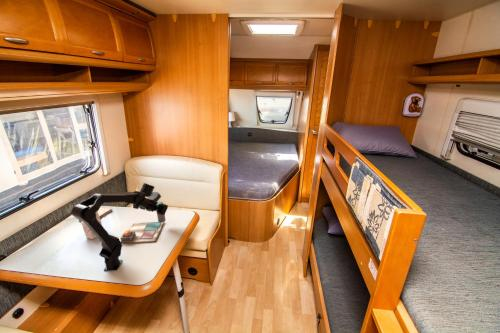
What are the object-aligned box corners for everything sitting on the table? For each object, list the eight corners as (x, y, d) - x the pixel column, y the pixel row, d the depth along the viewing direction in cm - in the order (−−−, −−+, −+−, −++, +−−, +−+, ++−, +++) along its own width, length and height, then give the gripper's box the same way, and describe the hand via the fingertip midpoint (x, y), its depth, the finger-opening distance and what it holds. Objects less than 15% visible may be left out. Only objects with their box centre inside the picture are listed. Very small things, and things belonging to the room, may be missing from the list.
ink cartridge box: (97, 230, 145) (91, 210, 140) (103, 230, 144) (98, 211, 139) (85, 238, 137) (79, 217, 132) (92, 239, 136) (86, 218, 131)
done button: (129, 237, 133) (128, 233, 132) (124, 238, 133) (123, 233, 132) (132, 234, 136) (131, 230, 135) (126, 234, 136) (125, 230, 135)
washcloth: (77, 222, 154) (76, 218, 153) (100, 209, 170) (99, 205, 169) (91, 225, 151) (89, 221, 150) (113, 211, 167) (112, 207, 166)
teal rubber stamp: (165, 222, 142) (162, 204, 138) (157, 223, 141) (154, 205, 137) (166, 218, 147) (163, 201, 142) (158, 219, 146) (155, 202, 141)
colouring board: (155, 242, 133) (154, 236, 132) (120, 244, 132) (118, 238, 130) (164, 222, 152) (163, 217, 151) (133, 224, 150) (132, 219, 149)
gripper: (163, 193, 129) (178, 201, 142) (140, 187, 136) (156, 196, 149) (155, 211, 125) (171, 218, 138) (131, 205, 132) (149, 212, 145)
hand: (162, 210), depth 143 cm, fingers closed on teal rubber stamp, 4 cm apart
